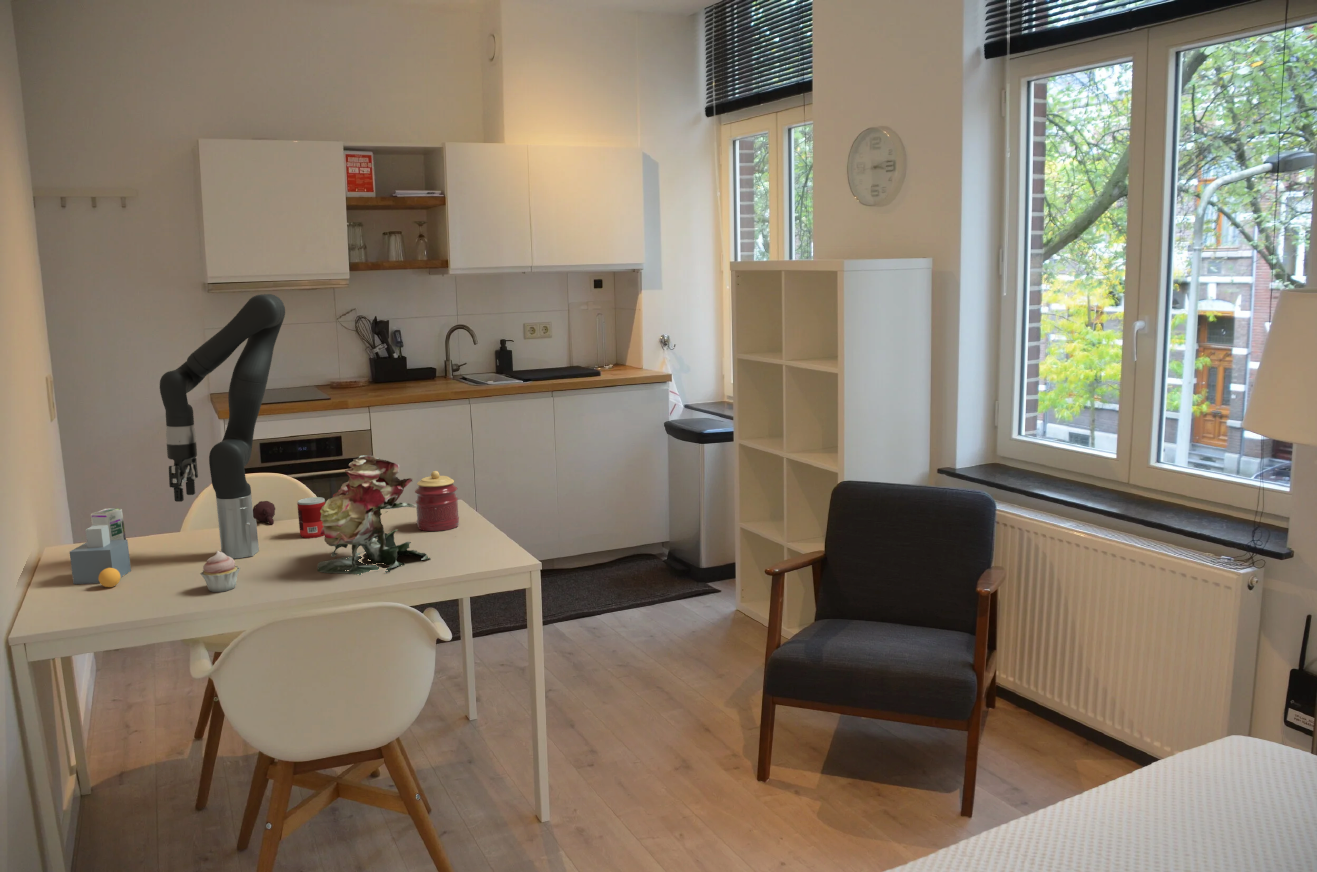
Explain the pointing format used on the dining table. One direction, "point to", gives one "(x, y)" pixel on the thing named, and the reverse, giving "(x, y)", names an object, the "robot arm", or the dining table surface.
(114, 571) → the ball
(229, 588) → the cupcake
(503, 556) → the dining table surface
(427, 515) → the canister
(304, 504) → the canned food
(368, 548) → the rose bouquet
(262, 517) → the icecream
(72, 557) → the cube with small cube
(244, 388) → the robot arm
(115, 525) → the syrup box
